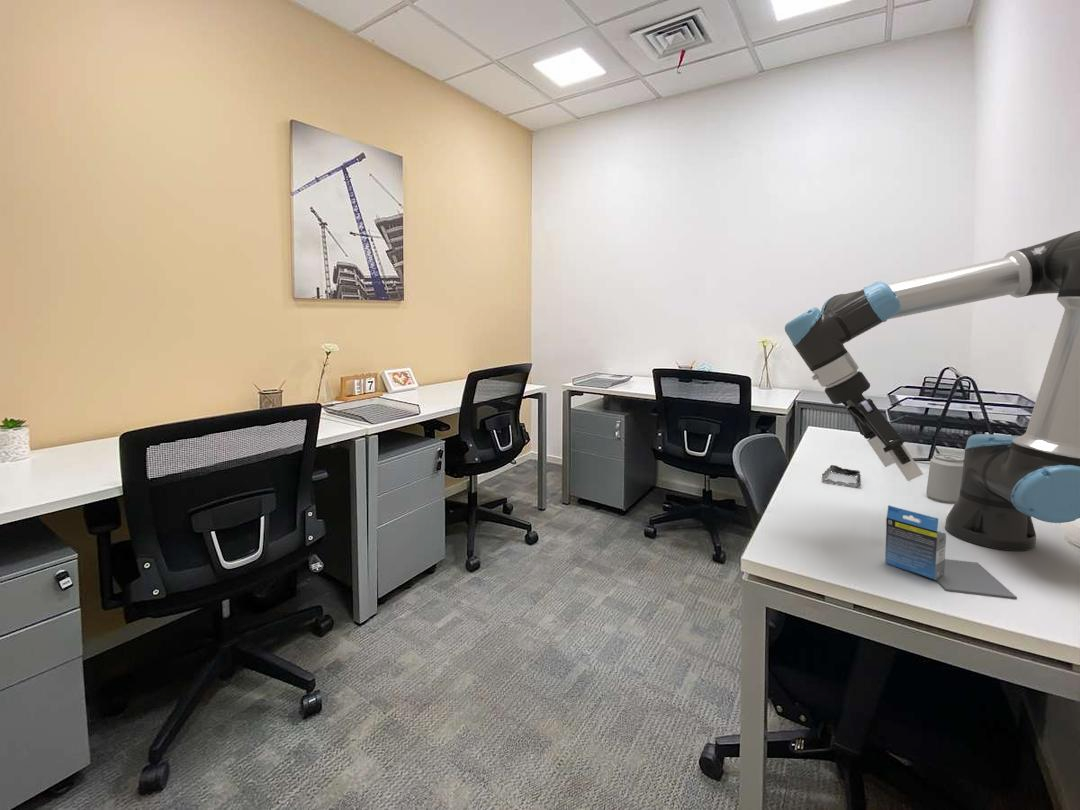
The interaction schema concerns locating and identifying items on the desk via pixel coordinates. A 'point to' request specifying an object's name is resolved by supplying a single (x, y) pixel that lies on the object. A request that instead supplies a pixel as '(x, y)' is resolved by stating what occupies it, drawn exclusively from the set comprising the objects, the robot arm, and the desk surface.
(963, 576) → the felt mat
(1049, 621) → the desk surface
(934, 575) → the label tape box
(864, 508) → the desk surface
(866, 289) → the robot arm
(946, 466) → the can
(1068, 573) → the desk surface
